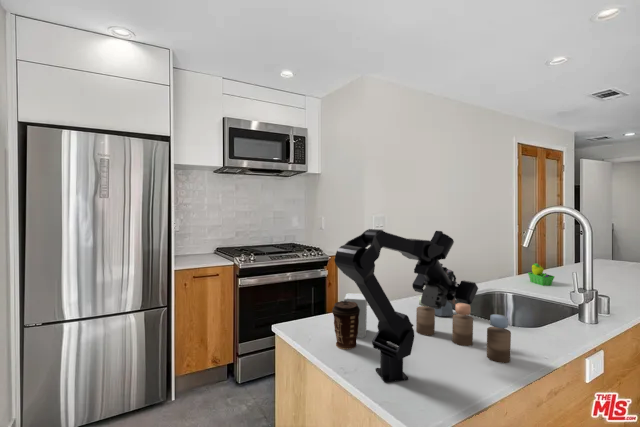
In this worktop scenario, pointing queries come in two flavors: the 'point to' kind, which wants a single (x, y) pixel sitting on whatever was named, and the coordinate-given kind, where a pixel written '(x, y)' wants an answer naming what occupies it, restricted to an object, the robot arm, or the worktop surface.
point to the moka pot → (448, 308)
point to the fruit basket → (540, 276)
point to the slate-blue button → (499, 321)
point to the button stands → (467, 333)
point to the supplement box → (363, 311)
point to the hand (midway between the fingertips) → (453, 303)
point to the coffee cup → (346, 324)
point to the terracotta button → (463, 308)
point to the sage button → (421, 303)
